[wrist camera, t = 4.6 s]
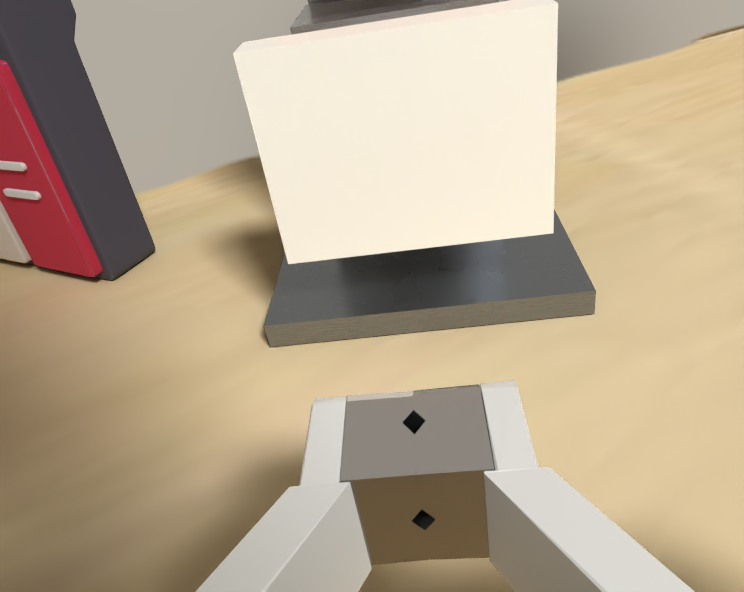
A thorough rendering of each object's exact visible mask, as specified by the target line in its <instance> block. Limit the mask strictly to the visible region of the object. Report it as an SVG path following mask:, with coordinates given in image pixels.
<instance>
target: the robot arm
mask: <svg viewBox="0 0 744 592" xmlns="http://www.w3.org/2000/svg"><path fill="white" fill-rule="evenodd" d="M464 558H490V561H491V563H492V564H493V565H494V567H495V568H496V569H497V571H498V572H499V573H500V574H501V576H502V577H503V578H504V580H505V581H506V582H507V584H508V585H509V586H510V588H511V589H512V590H513V591H514V592H695V591H693V590H692V589H691V588H690V587H689V586H688V585H686V584H685V583H684V582H683V581H682V580H681V579H679V578H678V577H677V576H676V575H675V574H674V573H672V572H671V571H670V570H669V569H668V568H667V567H665V566H664V565H663V564H662V563H661V562H660V561H658V560H657V559H656V558H655V557H654V556H653V555H651V554H650V553H649V552H648V551H647V550H646V549H645V548H643V547H642V546H641V545H640V544H639V543H638V542H636V541H635V540H634V539H633V538H632V537H631V536H629V535H628V534H627V533H626V532H625V531H624V530H622V529H621V528H620V527H619V526H618V525H617V524H615V523H614V522H613V521H612V520H611V519H610V518H608V517H607V516H606V515H605V514H604V513H603V512H601V511H600V510H599V509H598V508H597V507H596V506H594V505H593V504H592V503H591V502H590V501H589V500H587V499H586V498H585V497H584V496H583V495H582V494H580V493H579V492H578V491H577V490H576V489H575V488H573V487H572V486H571V485H570V484H569V483H568V482H566V481H565V480H564V479H563V478H562V477H561V476H559V475H558V474H557V473H556V472H555V471H554V470H553V469H551V468H550V467H538V464H537V460H536V456H535V452H534V448H533V445H532V441H531V437H530V433H529V429H528V425H527V421H526V417H525V414H524V410H523V406H522V402H521V398H520V394H519V390H518V386H517V384H516V383H515V382H514V381H513V380H512V381H502V382H493V383H484V384H480V386H479V385H468V386H458V387H447V388H437V389H427V390H417V391H408V392H393V393H378V394H363V395H349V396H346V397H329V398H316V399H315V400H314V402H313V404H312V406H311V413H310V419H309V426H308V432H307V439H306V445H305V452H304V458H303V465H302V471H301V478H300V484H299V486H291V487H288V489H287V490H286V491H285V492H284V493H283V494H282V495H281V496H280V498H279V499H278V500H277V501H276V502H275V503H274V504H273V505H272V506H271V508H270V509H269V510H268V511H267V512H266V513H265V514H264V515H263V517H262V518H261V519H260V520H259V521H258V522H257V523H256V524H255V525H254V527H253V528H252V529H251V530H250V531H249V532H248V533H247V534H246V536H245V537H244V538H243V539H242V540H241V541H240V542H239V543H238V544H237V546H236V547H235V548H234V549H233V550H232V551H231V552H230V553H229V555H228V556H227V557H226V558H225V559H224V560H223V561H222V562H221V563H220V565H219V566H218V567H217V568H216V569H215V570H214V571H213V572H212V574H211V575H210V576H209V577H208V578H207V579H206V580H205V581H204V582H203V584H202V585H201V586H200V587H199V588H198V589H197V590H196V591H195V592H359V590H360V588H361V586H362V585H363V583H364V581H365V580H366V578H367V576H368V574H369V573H370V571H371V569H372V568H371V565H376V564H387V563H398V562H409V561H420V560H435V559H464Z"/></svg>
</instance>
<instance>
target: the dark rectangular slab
mask: <svg viewBox="0 0 744 592" xmlns="http://www.w3.org/2000/svg"><path fill="white" fill-rule="evenodd" d="M75 21H76V13H75V10H74V8H73V5H72V2H71V0H0V258H1V259H6V260H10V261H15V262H20V263H29V264H33V265H37V266H40V267H44V268H49V269H54V270H59V271H63V272H68V273H73V274H78V275H83V276H87V277H96V278H101V279H106V280H114V279H116V278H117V277H119V276H120V275H122V274H123V273H124V272H126V271H127V270H129V269H130V268H132V267H133V266H134V265H136V264H137V263H139V262H140V261H142V260H143V259H144V258H146V257H147V256H149V255H150V254H151V253H153V252H154V250H155V246H154V243H153V240H152V238H151V235H150V233H149V230H148V228H147V225H146V222H145V220H144V217H143V215H142V212H141V210H140V207H139V205H138V202H137V200H136V197H135V195H134V192H133V190H132V187H131V185H130V182H129V180H128V177H127V174H126V172H125V169H124V167H123V164H122V162H121V159H120V157H119V154H118V152H117V150H116V147H115V144H114V142H113V139H112V137H111V134H110V132H109V129H108V126H107V124H106V121H105V119H104V116H103V114H102V111H101V109H100V106H99V104H98V101H97V99H96V96H95V93H94V91H93V88H92V86H91V83H90V81H89V78H88V76H87V73H86V71H85V68H84V66H83V63H82V61H81V58H80V56H79V53H78V50H77V48H76V45H75V42H74V34H75Z"/></svg>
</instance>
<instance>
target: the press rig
mask: <svg viewBox="0 0 744 592" xmlns="http://www.w3.org/2000/svg"><path fill="white" fill-rule="evenodd" d="M498 2H499V0H308V3H309V5H306V6H305V7H304V9H303V10H302V11H301V13H300V14H299V16H298V17H297V18H296V20H295V21H294V23H293V24H292V26H291V27H290V30H291V35H292V34H299V33H305V32H312V31H318V30H325V29H331V28H337V27H344V26H350V25H357V24H363V23H369V22H376V21H382V20H389V19H395V18H401V17H408V16H414V15H421V14H427V13H433V12H440V11H446V10H453V9H459V8H465V7H472V6H478V5H485V4H491V3H498ZM595 295H596V290H595V288H594V286H593V284H592V282H591V280H590V279H589V277H588V275H587V273H586V271H585V269H584V267H583V265H582V263H581V261H580V259H579V257H578V255H577V253H576V251H575V249H574V247H573V245H572V243H571V241H570V239H569V237H568V235H567V233H566V231H565V229H564V228H563V226H562V224H561V222H560V220H559V218H558V216H557V214H556V212H555V210H554V230H553V233H552V234H543V235H535V236H526V237H517V238H509V239H500V240H492V241H483V242H475V243H466V244H457V245H449V246H440V247H432V248H423V249H415V250H406V251H397V252H389V253H380V254H372V255H363V256H355V257H346V258H337V259H329V260H320V261H312V262H303V263H294V264H288V262H287V258H286V254H284V257H283V261H282V264H281V268H280V271H279V275H278V278H277V282H276V285H275V289H274V292H273V296H272V299H271V303H270V306H269V310H268V313H267V317H266V320H265V324H264V329H265V332H266V335H267V338H268V342H269V345H270V347H276V346H286V345H296V344H305V343H315V342H325V341H335V340H344V339H354V338H364V337H374V336H383V335H393V334H403V333H412V332H422V331H432V330H442V329H451V328H461V327H471V326H481V325H490V324H500V323H510V322H520V321H529V320H539V319H549V318H559V317H568V316H578V315H588V314H594V310H595Z"/></svg>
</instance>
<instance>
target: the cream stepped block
mask: <svg viewBox="0 0 744 592" xmlns="http://www.w3.org/2000/svg"><path fill="white" fill-rule="evenodd" d="M557 24H558V3H557V2H555V1H554V0H510V1H504V2H498V3H491V4H485V5H478V6H472V7H465V8H459V9H453V10H446V11H440V12H433V13H427V14H421V15H414V16H408V17H401V18H395V19H389V20H382V21H376V22H369V23H363V24H357V25H350V26H344V27H337V28H331V29H325V30H318V31H312V32H305V33H299V34H292V35H286V36H280V37H273V38H268V39H261V40H255V41H248V42H243V43H242V44H241V46H240V47H239V48H238V49H237V50H236V51H235V52H234V53H233V55H234V59H235V63H236V67H237V70H238V74H239V78H240V82H241V86H242V89H243V93H244V96H245V100H246V105H247V109H248V112H249V116H250V120H251V124H252V128H253V131H254V135H255V139H256V143H257V147H258V151H259V154H260V158H261V162H262V166H263V170H264V174H265V177H266V181H267V185H268V189H269V193H270V197H271V200H272V204H273V208H274V212H275V216H276V219H277V223H278V227H279V231H280V235H281V239H282V242H283V246H284V250H285V254H286V258H287V262H288V264H294V263H303V262H312V261H320V260H329V259H337V258H346V257H355V256H363V255H372V254H380V253H389V252H397V251H406V250H415V249H423V248H432V247H440V246H449V245H457V244H466V243H475V242H483V241H492V240H500V239H509V238H517V237H526V236H535V235H543V234H552V233H553V230H554V180H555V129H556V78H557V76H556V73H557V26H558V25H557Z"/></svg>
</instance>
